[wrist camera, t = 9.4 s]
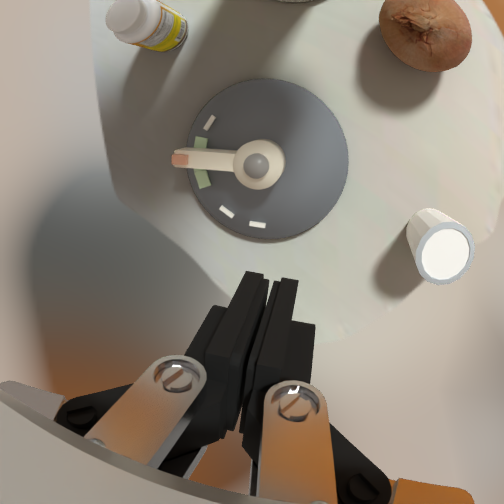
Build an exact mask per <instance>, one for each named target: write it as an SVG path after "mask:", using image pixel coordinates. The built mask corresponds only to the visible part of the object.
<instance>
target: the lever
mask: <svg viewBox="0 0 504 504" xmlns="http://www.w3.org/2000/svg"><path fill="white" fill-rule="evenodd" d="M172 164H174V167H180V168H194V169H207V170H219V171H230V172H234V173H235V176H236V177H237V179H238V180H239V181H240V182H241V183H242V184H243V185H244V186H246V187H248V188H251V189H255V190H261V189H265V188H268V187H270V186H272V185H273V184H274V183H275V182H276V181H277V180H278V179H279V177H280V176H281V175H282V173H283V171H284V169H285V166H286V157H285V154H284V151H283V149H282V148H281V147H280V146H279V145H278V144H277V143H276V142H274V141H272V140H269V139H258V140H254V141H251V142H248V143H246V144H244V145H243V146H241V147H240V148H239V149H238V150H237V151H236V150H223V149H208V148H190V147H185V148H181V149H177V150H174V154H173V155H172Z"/></svg>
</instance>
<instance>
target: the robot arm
mask: <svg viewBox="0 0 504 504" xmlns="http://www.w3.org/2000/svg"><path fill="white" fill-rule="evenodd" d="M278 1H284V2H306V1H311V0H278ZM263 278H264V275H263V274H260V273H255V272H250V271H246V272H245V274H244V276H243V278H242V280H241V282H240V284H239V286H238V288H237V290H236V292H235V294H234V296H233V298H232V300H231V302H230V304H229V306H228V308H225V307H221V306H217V305H214V306H213V307H212V308H211V309H210V311H209V313H208V315H207V317H206V318H205V320H204V322H203V324H202V325H201V327H200V329H199V330H198V332H197V334H196V335H195V337H194V339H193V341H192V342H191V344H190V346H189V348H188V349H187V351H186V353H185V355H184V356H183V355H171V356H165V357H163V358H160V359H158V360H156V361H155V362H154V363H153V364H152V365H151V366H150V367H149V368H148V369H147V370H146V371H145V372H144V373H143V374H142V375H141V376H140V377H139V378H138V379H137V381H136V382H135V383H133V384H129V385H125V386H121V387H117V388H114V389H110V390H106V391H101V392H97V393H93V394H88V395H84V396H80V397H76V398H73V399H70V400H69V401H68V400H66V399H65V397H64V396H62V395H58V394H55V393H51V392H47V391H44V390H41V389H37V388H34V387H31V386H27V385H24V384H21V383H18V382H14V381H6V382H2V383H1V384H0V504H474V500H473V498H472V496H471V495H470V494H469V493H468V492H467V491H466V490H463V489H460V488H455V487H448V486H441V485H434V484H428V483H422V482H417V481H412V480H406V479H402V478H399V479H398V480H397V481H395V480H390V479H388V478H387V476H386V475H385V474H384V473H383V472H382V471H381V470H380V469H379V468H378V467H377V466H376V465H374V464H373V463H372V462H371V461H370V460H369V459H368V458H367V457H365V456H364V455H363V454H362V453H361V452H360V451H359V450H358V449H357V448H356V447H355V446H354V445H353V444H351V443H350V442H349V441H348V440H347V439H346V438H345V437H344V436H343V435H342V434H341V433H340V432H339V431H338V430H336V428H335V427H334V426H332V425H331V424H330V423H329V417H328V410H327V403H326V400H325V397H324V396H323V394H322V393H321V392H320V391H319V390H318V389H317V388H315V387H314V386H313V385H310V379H311V370H312V359H313V349H314V338H315V324H309V323H304V322H298V321H292V314H293V309H294V304H295V298H296V293H297V287H298V281H299V280H294V279H288V278H281V282H279V281H274V283H273V286H272V289H271V292H270V296H269V299H268V302H267V305H266V301H267V294H268V287H269V280H268V279H263ZM242 404H243V405H242ZM241 408H242V413H241V421H240V429H239V432H240V433H243V434H244V435H243V441H242V447H243V448H244V449H245V451H246V452H247V453H248V454H249V456H250V457H251V458H252V461H251V471H250V483H249V495H245V494H240V493H236V492H231V491H227V490H223V489H219V488H215V487H212V486H208V485H204V484H201V483H197V482H194V481H191V480H188V478H189V477H190V475H191V474H192V472H193V470H194V469H195V467H196V466H197V464H198V463H199V461H200V459H201V458H202V456H203V454H204V453H205V451H206V448H207V445H208V444H211V443H213V442H216V441H218V440H219V439H220V438H221V439H224V437H225V434H226V432H227V430H230V431H234V429H235V426H236V423H237V420H238V417H239V414H240V411H241Z"/></svg>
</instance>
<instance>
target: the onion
mask: <svg viewBox="0 0 504 504" xmlns="http://www.w3.org/2000/svg"><path fill="white" fill-rule="evenodd" d="M379 23H380V29H381V33H382V36H383V39H384V41H385V43H386V44H387V46H388V47H389V49H390V50H391V51H392V52H393V54H394V55H395V56H396V57H397V58H399V59H400V60H401V61H402V62H404V63H405V64H407V65H409V66H411V67H413V68H415V69H418V70H422V71H427V72H439V71H446V70H449V69H451V68H454V67H456V66H458V65H459V64H460V63H461V62H462V61H463V60H464V59H465V58H466V57H467V55H468V53H469V51H470V48H471V43H472V35H471V28H470V24H469V21H468V19H467V16H466V15H465V13H464V11H463V10H462V9H461V8H460V6H459V5H458V4H457V3H456V2H455V1H454V0H385V2H384V3H383V6H382V8H381V11H380V14H379Z"/></svg>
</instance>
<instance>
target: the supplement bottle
mask: <svg viewBox="0 0 504 504" xmlns="http://www.w3.org/2000/svg"><path fill="white" fill-rule="evenodd" d="M106 25H107V27H108V28H109V29H110V30H111V31H113V32H114V34H115V36H116V37H117V38H118V39H119V40H120V41H122V42H125V43H128V44H132V45H136V46H140V47H144V48H147V49H151V50H154V51H158V52H168V51H171V50H174V49H175V48H177V47H178V46H180V45H181V44H182V42H183V41H184V40H185V38H186V36H187V33H188V23H187V20H186V18H185V17H184V16H183V15H182V14H180V13H179V12H177V11H175V10H174V9H172V8H170V7H168V6H167V5H165V4H163V3H161V2H160V1H158V0H116V1H115V2H114V3H113V4H112V5H111V6H110V8H109V10H108V12H107V14H106Z"/></svg>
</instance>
